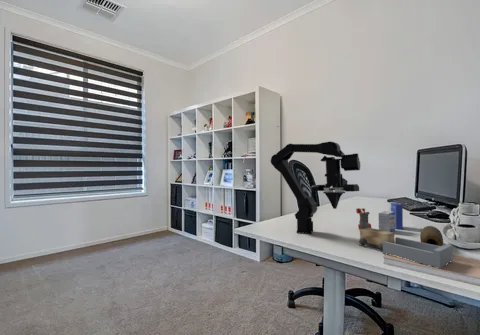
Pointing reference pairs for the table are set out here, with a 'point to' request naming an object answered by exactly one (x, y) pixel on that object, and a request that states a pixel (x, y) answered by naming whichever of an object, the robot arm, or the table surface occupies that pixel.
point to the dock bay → (418, 251)
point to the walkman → (397, 214)
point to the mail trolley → (373, 233)
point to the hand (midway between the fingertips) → (334, 208)
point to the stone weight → (431, 236)
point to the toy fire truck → (359, 213)
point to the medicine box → (387, 221)
